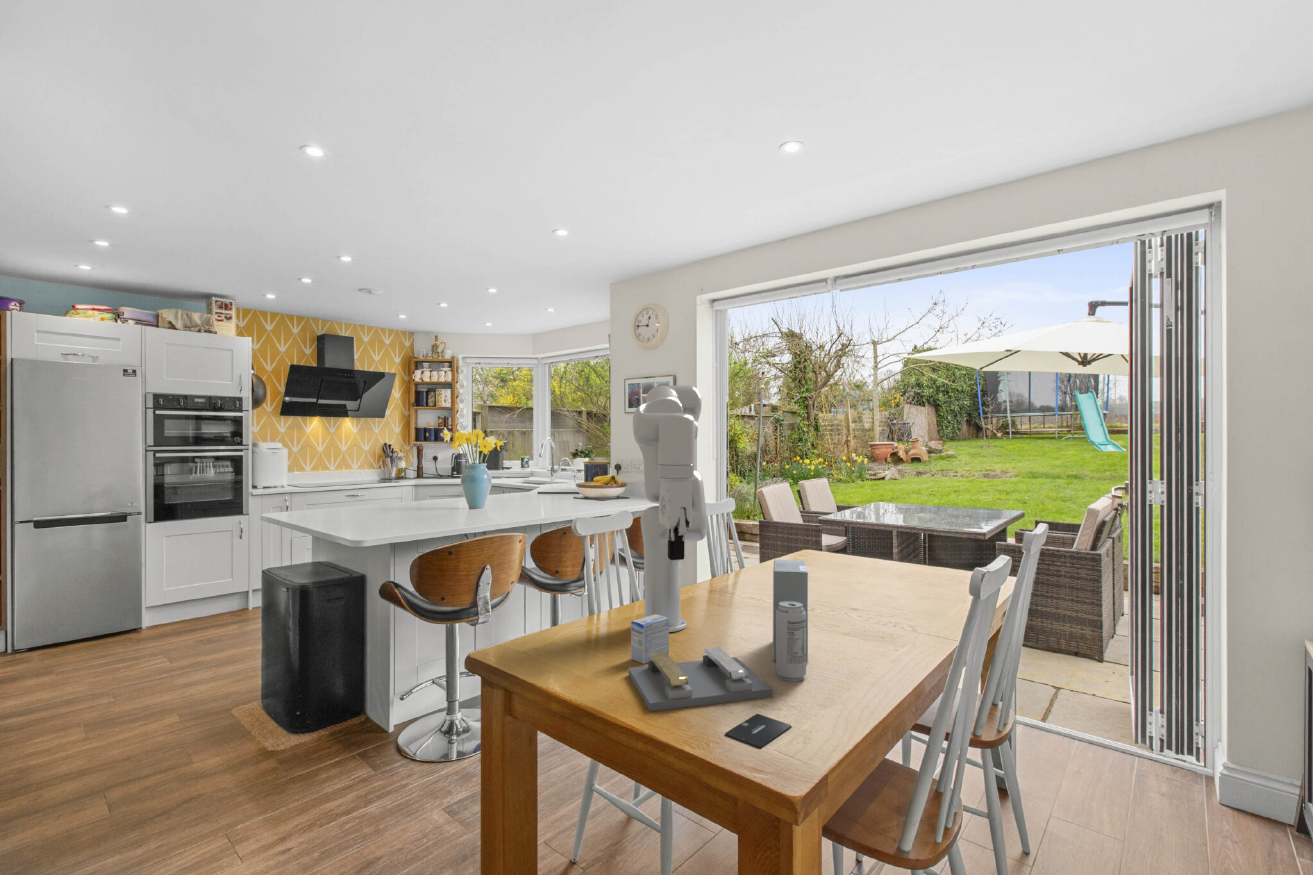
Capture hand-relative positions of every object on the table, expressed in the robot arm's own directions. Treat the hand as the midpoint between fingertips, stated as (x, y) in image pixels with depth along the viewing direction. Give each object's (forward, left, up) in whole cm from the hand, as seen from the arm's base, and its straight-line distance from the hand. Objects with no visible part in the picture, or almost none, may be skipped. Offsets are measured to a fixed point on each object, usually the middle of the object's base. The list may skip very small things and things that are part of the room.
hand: (676, 558), depth 130 cm
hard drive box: (-4, +29, -24) cm, 38 cm away
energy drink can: (+10, +22, -24) cm, 34 cm away
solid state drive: (+30, +5, -24) cm, 39 cm away
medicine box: (-9, -3, -24) cm, 26 cm away
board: (+9, +2, -24) cm, 25 cm away
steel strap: (+9, +8, -20) cm, 23 cm away
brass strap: (+9, -4, -20) cm, 23 cm away
